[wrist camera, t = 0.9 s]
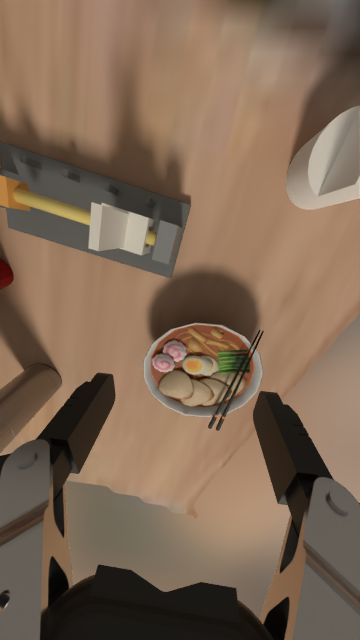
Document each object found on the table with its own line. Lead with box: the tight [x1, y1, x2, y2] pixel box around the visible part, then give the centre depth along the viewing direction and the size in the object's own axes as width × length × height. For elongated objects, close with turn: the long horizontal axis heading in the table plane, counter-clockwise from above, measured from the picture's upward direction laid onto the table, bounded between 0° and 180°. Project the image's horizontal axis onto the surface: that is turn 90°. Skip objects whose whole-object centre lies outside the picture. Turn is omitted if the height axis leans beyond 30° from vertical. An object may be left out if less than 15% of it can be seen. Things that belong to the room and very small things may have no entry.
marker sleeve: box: [88, 202, 156, 255], centre depth 22 cm, size 6×5×12 cm
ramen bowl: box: [143, 323, 264, 431], centre depth 38 cm, size 25×23×8 cm
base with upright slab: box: [286, 106, 360, 210], centre depth 21 cm, size 9×9×12 cm
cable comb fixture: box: [0, 142, 191, 278], centre depth 28 cm, size 30×12×9 cm, turn 74°
